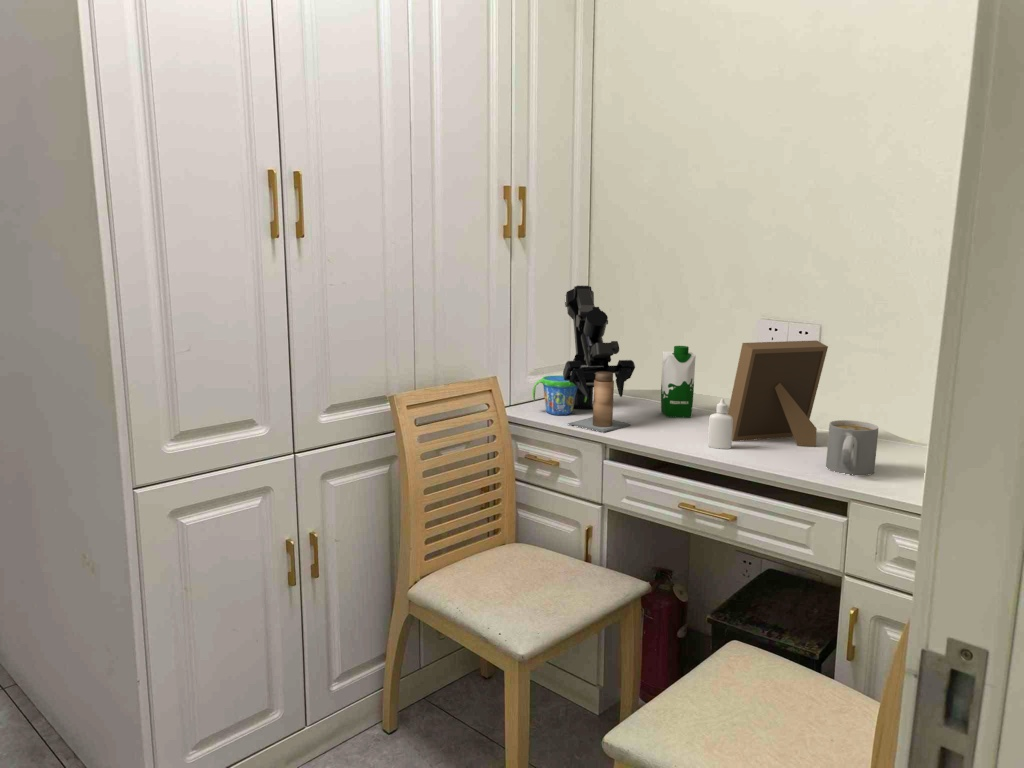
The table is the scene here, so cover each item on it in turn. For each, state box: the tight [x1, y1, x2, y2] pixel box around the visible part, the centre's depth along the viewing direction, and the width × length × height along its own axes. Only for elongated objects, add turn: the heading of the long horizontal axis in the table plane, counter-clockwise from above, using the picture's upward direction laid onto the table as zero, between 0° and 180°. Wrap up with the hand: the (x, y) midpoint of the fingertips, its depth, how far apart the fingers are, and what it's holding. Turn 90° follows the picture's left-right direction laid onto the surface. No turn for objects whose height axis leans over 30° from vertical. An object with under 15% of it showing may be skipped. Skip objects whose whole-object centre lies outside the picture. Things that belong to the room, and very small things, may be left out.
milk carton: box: [660, 345, 697, 418], centre depth 230 cm, size 9×9×20 cm
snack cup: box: [532, 375, 587, 416], centre depth 231 cm, size 16×10×10 cm
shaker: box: [592, 372, 615, 427], centre depth 214 cm, size 5×5×14 cm
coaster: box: [567, 416, 631, 433], centre depth 217 cm, size 12×12×1 cm
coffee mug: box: [825, 419, 879, 476], centre depth 177 cm, size 13×10×10 cm
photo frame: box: [727, 339, 829, 447], centre depth 201 cm, size 15×22×25 cm
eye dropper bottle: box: [707, 398, 733, 450], centre depth 195 cm, size 4×6×12 cm
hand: (604, 396), depth 213 cm, fingers open, 9 cm apart
